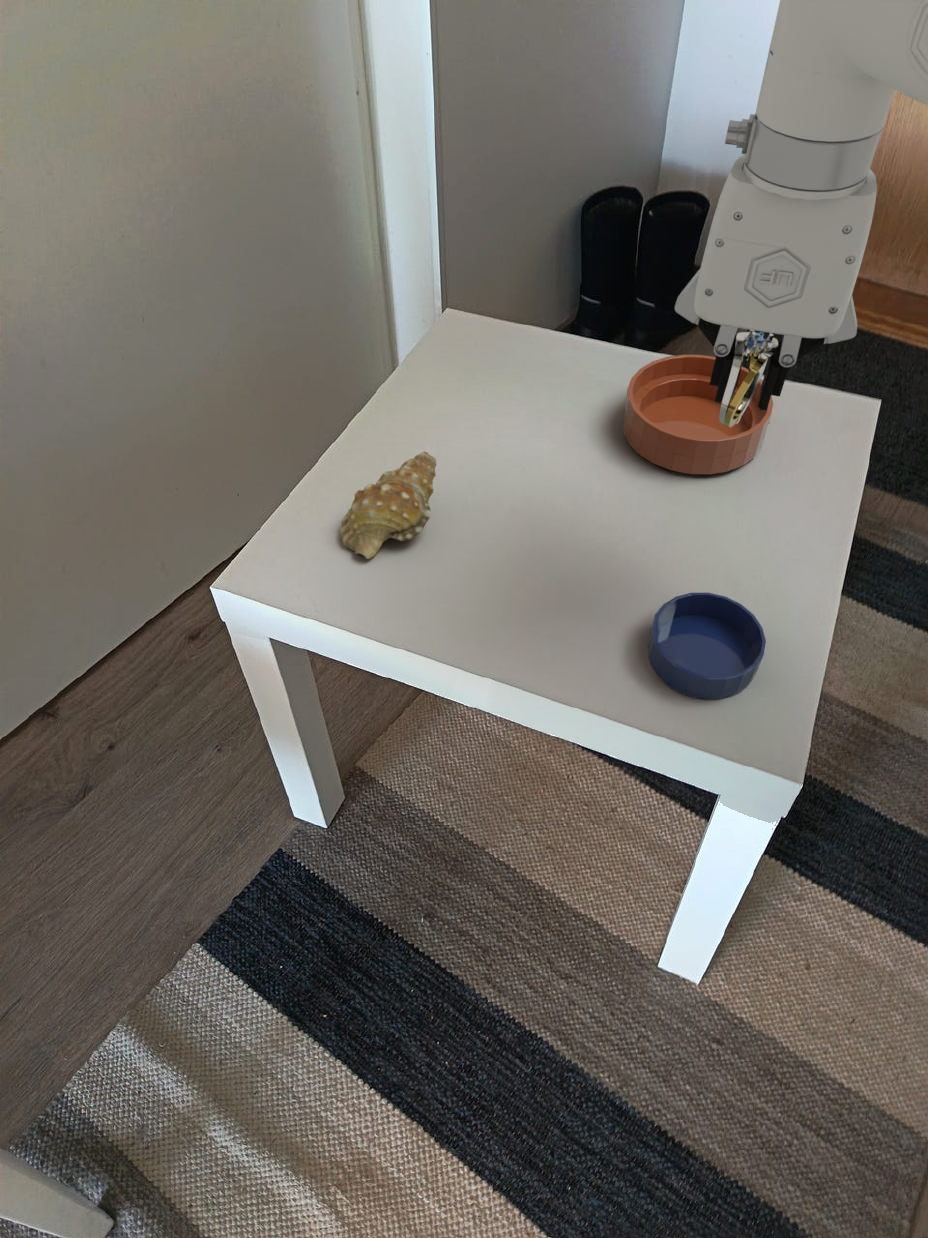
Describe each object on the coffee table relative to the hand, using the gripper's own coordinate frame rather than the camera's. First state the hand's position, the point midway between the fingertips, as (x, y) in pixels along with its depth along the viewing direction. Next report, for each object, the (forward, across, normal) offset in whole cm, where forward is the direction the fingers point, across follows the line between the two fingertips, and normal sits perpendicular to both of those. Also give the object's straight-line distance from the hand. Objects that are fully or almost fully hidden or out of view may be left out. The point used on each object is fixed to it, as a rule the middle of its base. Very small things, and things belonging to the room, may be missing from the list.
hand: (742, 394), depth 67 cm
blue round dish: (+19, +2, -11) cm, 22 cm away
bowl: (+19, -3, +19) cm, 27 cm away
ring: (+3, 0, 0) cm, 3 cm away
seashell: (+20, -30, -3) cm, 36 cm away
